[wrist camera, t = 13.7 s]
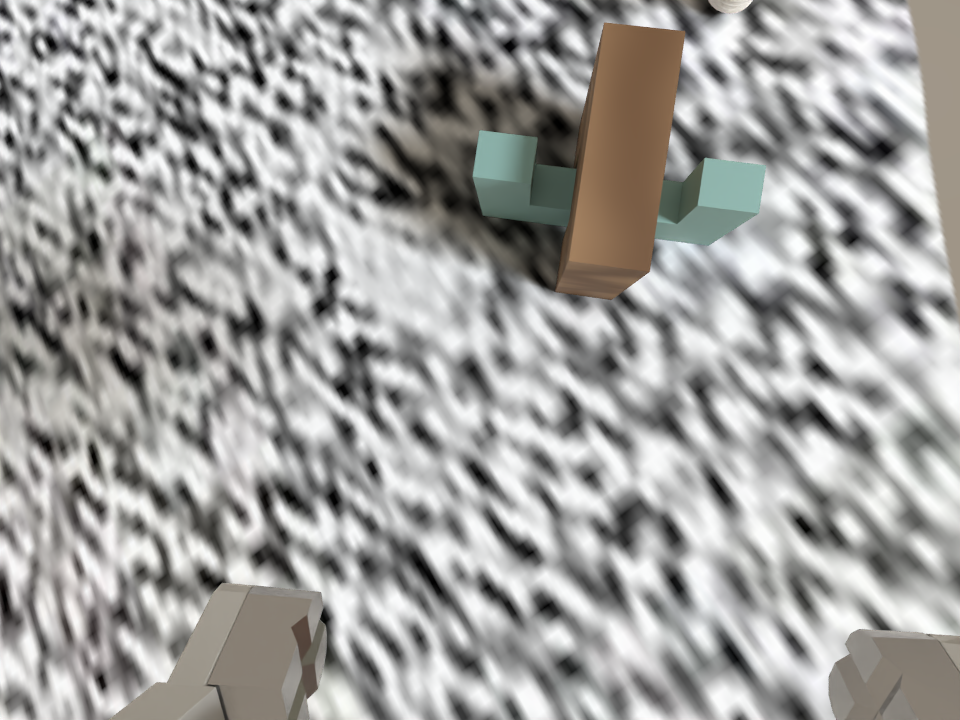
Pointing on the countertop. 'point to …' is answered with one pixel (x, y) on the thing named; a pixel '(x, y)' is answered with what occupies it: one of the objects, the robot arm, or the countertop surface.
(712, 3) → the lightbulb
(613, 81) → the brown arch block
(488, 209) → the teal bracket
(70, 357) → the countertop surface
